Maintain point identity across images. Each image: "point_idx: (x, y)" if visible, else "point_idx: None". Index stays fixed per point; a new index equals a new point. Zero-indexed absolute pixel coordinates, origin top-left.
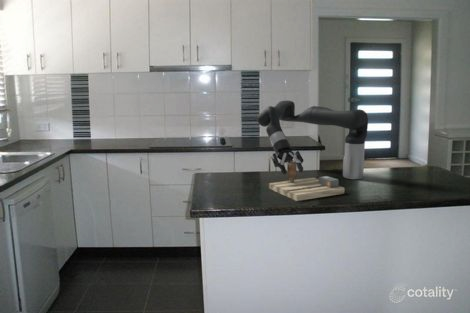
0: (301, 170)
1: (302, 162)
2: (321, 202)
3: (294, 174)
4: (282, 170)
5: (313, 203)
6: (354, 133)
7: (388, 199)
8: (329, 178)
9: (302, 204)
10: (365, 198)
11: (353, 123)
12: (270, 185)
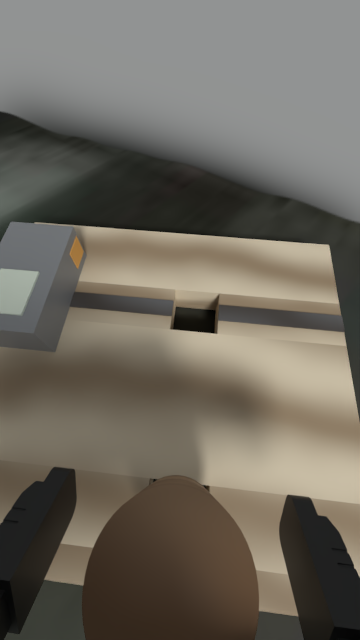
0: (73, 475)
1: None
2: (225, 214)
3: (178, 476)
4: (342, 550)
5: (262, 219)
6: None
7: (3, 142)
8: (22, 264)
9: (311, 229)
10: (47, 176)
11: None
12: None
